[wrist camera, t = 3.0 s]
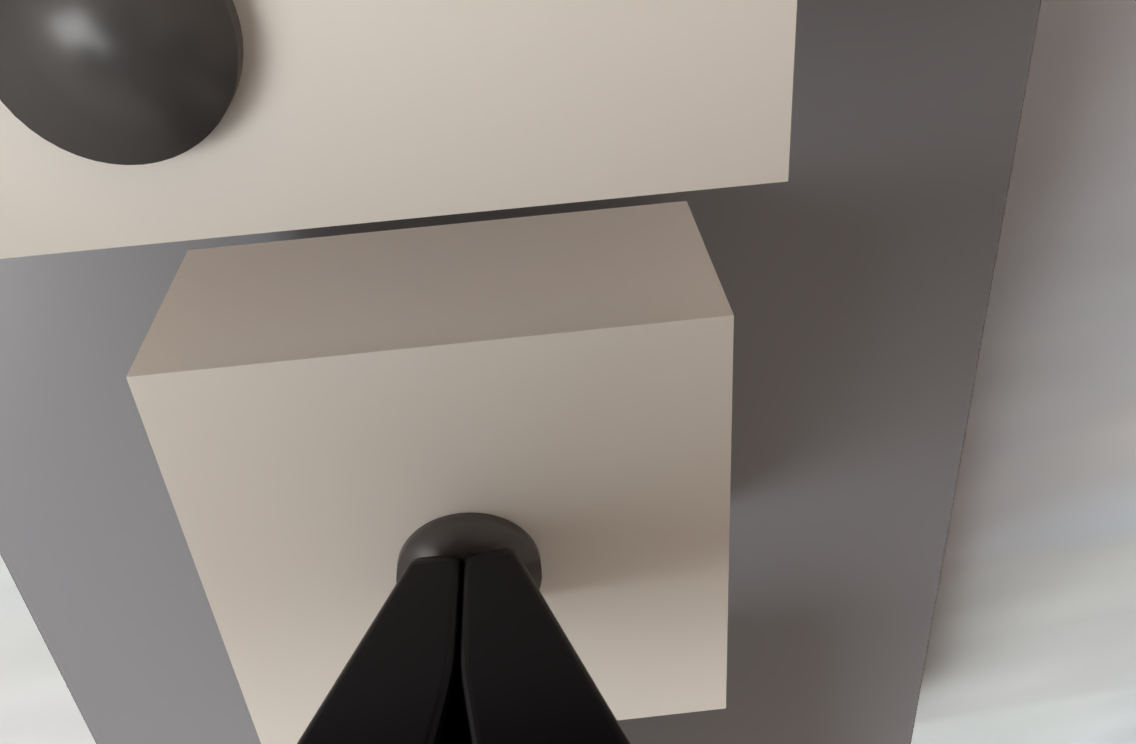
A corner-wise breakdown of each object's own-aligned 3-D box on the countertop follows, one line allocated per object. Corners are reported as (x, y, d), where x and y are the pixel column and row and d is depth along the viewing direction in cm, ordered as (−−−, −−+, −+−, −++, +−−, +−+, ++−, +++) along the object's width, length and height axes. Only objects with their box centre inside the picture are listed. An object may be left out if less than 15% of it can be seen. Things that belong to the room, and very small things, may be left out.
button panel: (1041, -732, 8) (1187, -837, 7) (858, 700, 18) (898, 807, 16) (-404, -624, 8) (-634, -702, 6) (199, 774, 17) (171, 891, 16)
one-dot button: (687, 201, 9) (738, 325, 8) (688, 562, 12) (729, 720, 10) (187, 249, 9) (120, 389, 7) (295, 604, 12) (265, 773, 10)
